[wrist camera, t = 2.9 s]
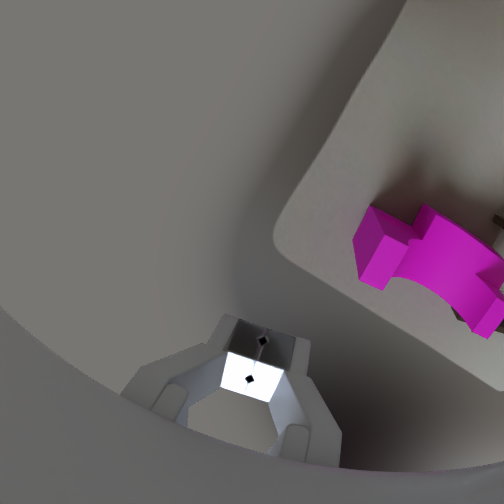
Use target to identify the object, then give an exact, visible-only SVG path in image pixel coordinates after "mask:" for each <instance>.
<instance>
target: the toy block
mask: <svg viewBox="0 0 504 504" xmlns="http://www.w3.org/2000/svg"><path fill="white" fill-rule="evenodd" d="M353 246H354V252H355V258H356V264H357V270H358V277H359V281H362V282H364V283H366V284H368V285H371V286H373V287H375V288H378V289H380V290H382V291H383V289H384V288H385V286H386V285H387V283H388V281H389V280H390V278H391V277H402V278H406V279H410V280H412V281H415V282H417V283H419V284H421V285H423V286H425V287H427V288H429V289H430V290H432V291H433V292H435V293H436V294H438V295H439V296H440V297H442V298H443V299H444V300H445V301H446V302H448V303H449V304H450V305H451V306H452V307H453V308H454V309H455V310H456V311H457V312H458V313H459V314H460V316H461V317H462V318H463V319H464V321H465V322H466V323H467V325H468V326H469V328H470V329H471V331H472V332H474V333H476V334H478V335H480V336H482V337H484V338H486V339H488V338H489V337H490V336H491V335H492V333H493V332H494V331H495V329H496V328H497V327H498V326H499V324H500V323H501V322H502V320H503V319H504V296H503V294H502V293H501V292H500V290H499V288H500V287H501V285H502V284H503V282H504V259H503V258H502V257H501V256H500V255H499V254H498V253H497V252H496V251H495V250H494V249H493V248H492V247H490V246H489V245H488V244H486V243H485V242H483V241H482V240H481V239H479V238H478V237H476V236H475V235H473V234H472V233H470V232H469V231H467V230H466V229H465V228H463V227H461V226H460V225H458V224H457V223H455V222H454V221H452V220H451V219H449V218H447V217H446V216H444V215H443V214H441V213H439V212H438V211H436V210H434V209H433V208H431V207H429V206H428V205H426V204H424V203H423V205H422V207H421V209H420V211H419V213H418V215H417V217H416V219H415V221H414V223H413V225H412V226H410V225H408V224H407V223H405V222H403V221H401V220H399V219H397V218H395V217H393V216H391V215H389V214H387V213H385V212H383V211H381V210H379V209H377V208H375V207H373V206H371V205H370V206H369V208H368V210H367V212H366V214H365V216H364V218H363V220H362V222H361V224H360V226H359V228H358V230H357V232H356V234H355V236H354V238H353Z"/></svg>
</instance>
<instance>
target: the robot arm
mask: <svg viewBox="0 0 504 504" xmlns="http://www.w3.org/2000/svg"><path fill="white" fill-rule="evenodd" d="M310 345H311V341H310V340H306V339H302V338H299V337H294V336H290V335H287V334H284V333H281V332H277V331H274V330H271V329H268V328H265V327H262V326H259V325H256V324H253V323H250V322H247V321H245V320H242V319H238V318H235V317H233V316H230V315H227V314H224V315H223V316H222V318H221V319H220V321H219V323H218V325H217V326H216V328H215V330H214V332H213V333H212V335H211V337H210V339H209V340H208V342H207V344H203V343H200V344H198V345H196V346H193V347H191V348H188V349H186V350H184V351H181V352H178V353H176V354H173V355H170V356H168V357H165V358H163V359H160V360H158V361H155V362H152V363H149V364H147V365H144V366H141V367H140V369H139V370H138V371H137V373H136V374H135V375H134V377H133V378H132V379H131V380H130V382H129V383H128V385H127V386H126V387H125V388H124V390H123V391H122V392H121V394H120V395H119V394H117V393H115V392H114V391H112V390H110V389H109V388H107V387H105V386H104V385H102V384H100V383H99V382H97V381H95V380H94V379H92V378H91V377H89V376H88V375H86V374H84V373H83V372H81V371H80V370H78V369H77V368H75V367H74V366H72V365H71V364H70V363H68V362H67V361H65V360H64V359H63V358H61V357H60V356H59V355H57V354H56V353H55V352H53V351H52V350H51V349H49V348H48V347H47V346H45V345H44V344H43V343H42V342H40V341H39V340H38V339H36V338H35V337H34V336H33V335H32V334H31V333H29V332H28V331H27V330H26V329H25V328H24V327H22V326H21V325H20V324H19V323H18V322H17V321H16V320H15V319H13V317H11V316H10V315H9V314H8V313H7V312H6V311H5V310H4V309H3V308H2V307H1V306H0V504H504V461H503V462H498V463H494V464H488V465H483V466H477V467H470V468H463V469H454V470H445V471H430V472H377V471H362V470H352V469H342V468H339V459H340V450H341V438H342V432H341V430H340V429H339V427H338V425H337V424H336V422H335V420H334V418H333V416H332V415H331V413H330V411H329V409H328V408H327V406H326V404H325V403H324V401H323V399H322V397H321V396H320V394H319V392H318V390H317V388H316V387H315V385H314V383H313V381H312V380H311V378H310V377H306V374H307V367H308V361H309V354H310ZM220 387H222V388H225V389H228V390H231V391H235V392H238V393H241V394H244V395H247V396H250V397H253V398H256V399H259V400H262V401H265V402H268V404H269V408H270V411H271V414H272V417H273V420H274V423H275V426H276V429H277V432H278V435H279V437H278V439H277V440H276V441H275V443H274V444H273V445H272V447H271V448H270V449H269V451H268V452H267V453H266V454H264V453H261V452H257V451H254V450H250V449H246V448H243V447H240V446H237V445H234V444H231V443H227V442H224V441H222V440H218V439H216V438H213V437H210V436H208V435H205V434H202V433H200V432H197V431H194V430H192V429H189V428H187V422H188V407H190V406H191V405H193V404H195V403H196V402H198V401H199V400H201V399H203V398H205V397H206V396H208V395H209V394H211V393H213V392H214V391H216V390H217V389H219V388H220Z"/></svg>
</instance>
